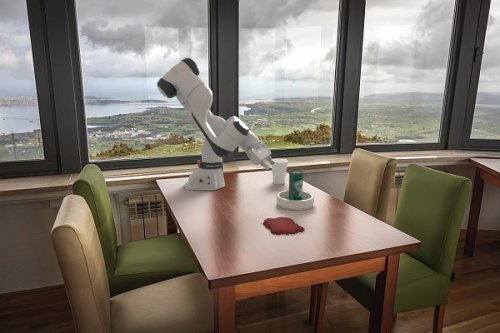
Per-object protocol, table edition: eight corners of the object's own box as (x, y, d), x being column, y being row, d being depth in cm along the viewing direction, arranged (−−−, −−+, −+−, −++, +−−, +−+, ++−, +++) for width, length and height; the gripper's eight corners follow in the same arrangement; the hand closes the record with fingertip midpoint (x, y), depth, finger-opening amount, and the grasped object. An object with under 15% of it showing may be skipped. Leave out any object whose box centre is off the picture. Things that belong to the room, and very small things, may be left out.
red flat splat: (307, 233, 146) (308, 228, 145) (275, 238, 141) (275, 233, 141) (288, 217, 162) (288, 213, 161) (258, 221, 157) (258, 217, 157)
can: (298, 205, 173) (299, 174, 170) (286, 203, 176) (287, 172, 173) (303, 201, 178) (304, 171, 175) (291, 199, 181) (292, 169, 178)
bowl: (282, 211, 168) (282, 202, 167) (273, 199, 184) (273, 191, 183) (318, 209, 171) (318, 200, 170) (306, 197, 187) (306, 189, 186)
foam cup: (286, 185, 209) (286, 162, 206) (269, 184, 211) (270, 161, 208) (287, 180, 218) (288, 159, 215) (272, 179, 220) (272, 158, 217)
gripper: (249, 144, 166) (270, 167, 166) (261, 137, 185) (280, 157, 185) (240, 153, 169) (260, 176, 168) (252, 145, 188) (271, 166, 187)
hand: (271, 166), depth 177 cm, fingers open, 8 cm apart
